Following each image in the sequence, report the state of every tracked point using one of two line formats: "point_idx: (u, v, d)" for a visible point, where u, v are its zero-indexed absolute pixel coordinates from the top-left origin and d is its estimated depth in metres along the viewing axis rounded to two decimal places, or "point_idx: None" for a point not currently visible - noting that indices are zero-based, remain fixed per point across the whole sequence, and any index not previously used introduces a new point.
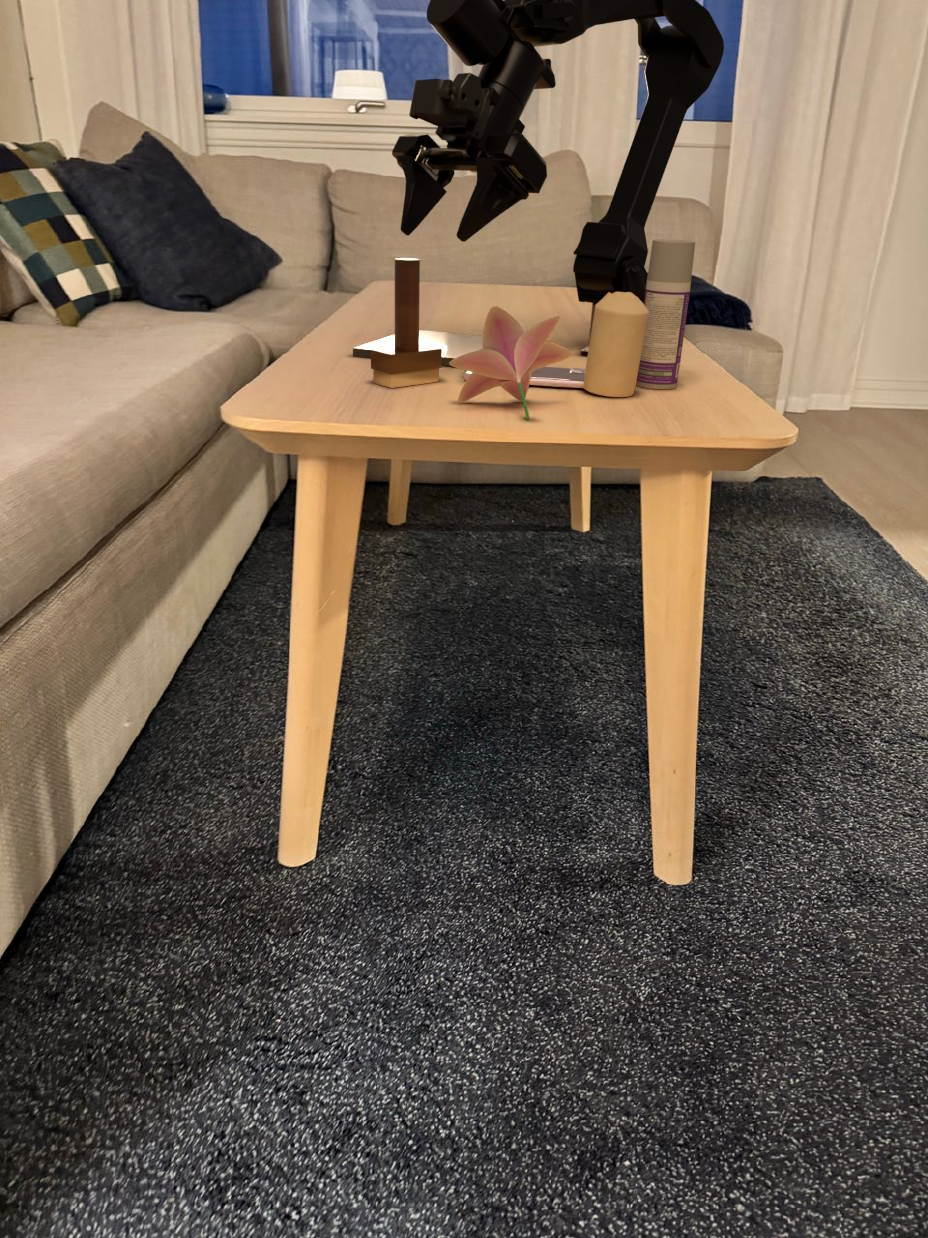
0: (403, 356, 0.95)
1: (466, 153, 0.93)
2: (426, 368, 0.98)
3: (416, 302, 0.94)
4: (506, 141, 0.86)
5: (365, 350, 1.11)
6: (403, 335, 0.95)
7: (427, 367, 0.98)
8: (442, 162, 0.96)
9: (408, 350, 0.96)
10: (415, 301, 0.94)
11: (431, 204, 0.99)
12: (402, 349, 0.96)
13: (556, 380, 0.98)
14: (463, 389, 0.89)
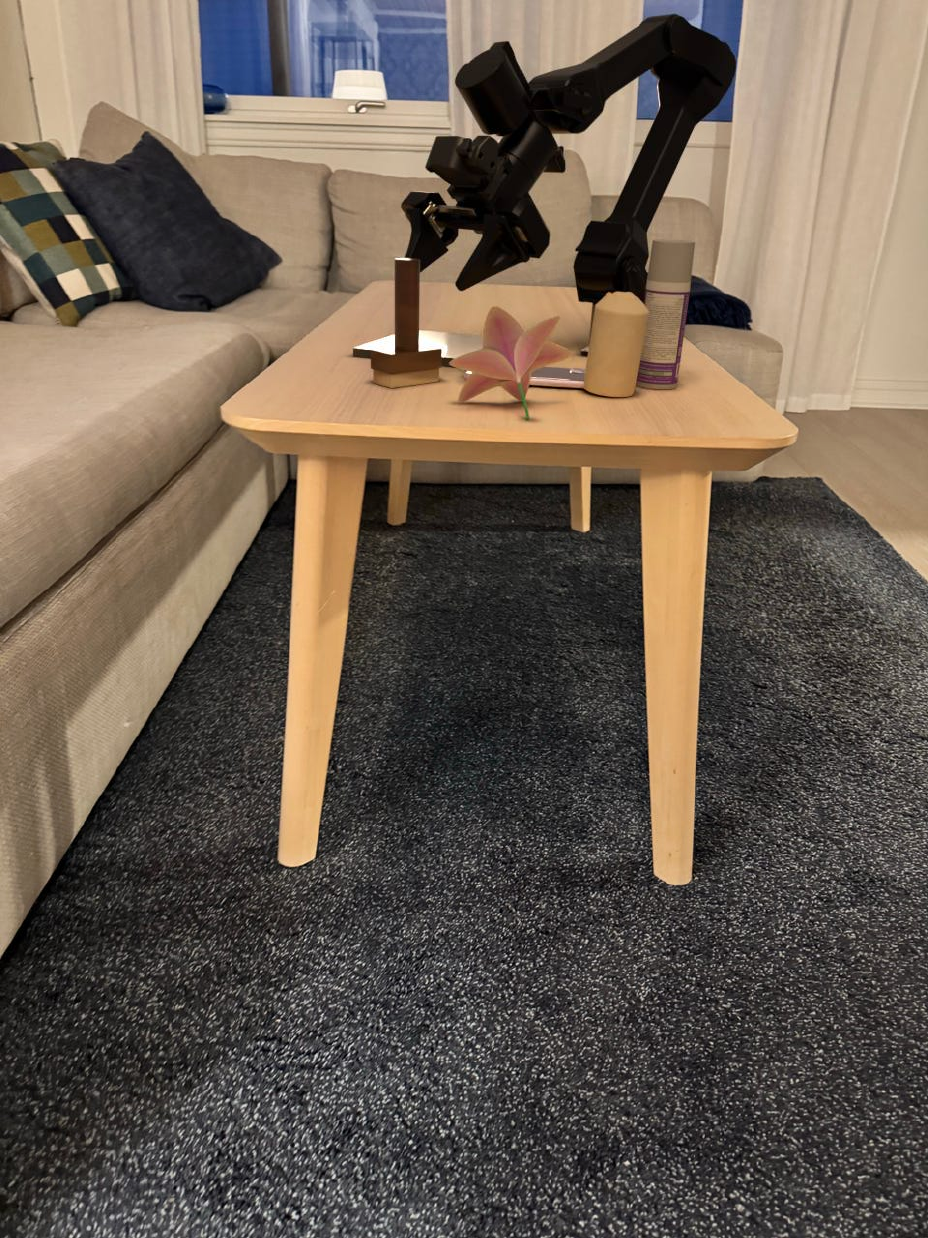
0: (403, 356, 0.95)
1: (473, 213, 0.96)
2: (426, 368, 0.98)
3: (416, 302, 0.94)
4: (516, 202, 0.89)
5: (365, 350, 1.11)
6: (403, 335, 0.95)
7: (427, 367, 0.98)
8: (449, 220, 0.99)
9: (408, 350, 0.96)
10: (415, 301, 0.94)
11: (432, 258, 1.01)
12: (402, 349, 0.96)
13: (556, 380, 0.98)
14: (463, 389, 0.89)
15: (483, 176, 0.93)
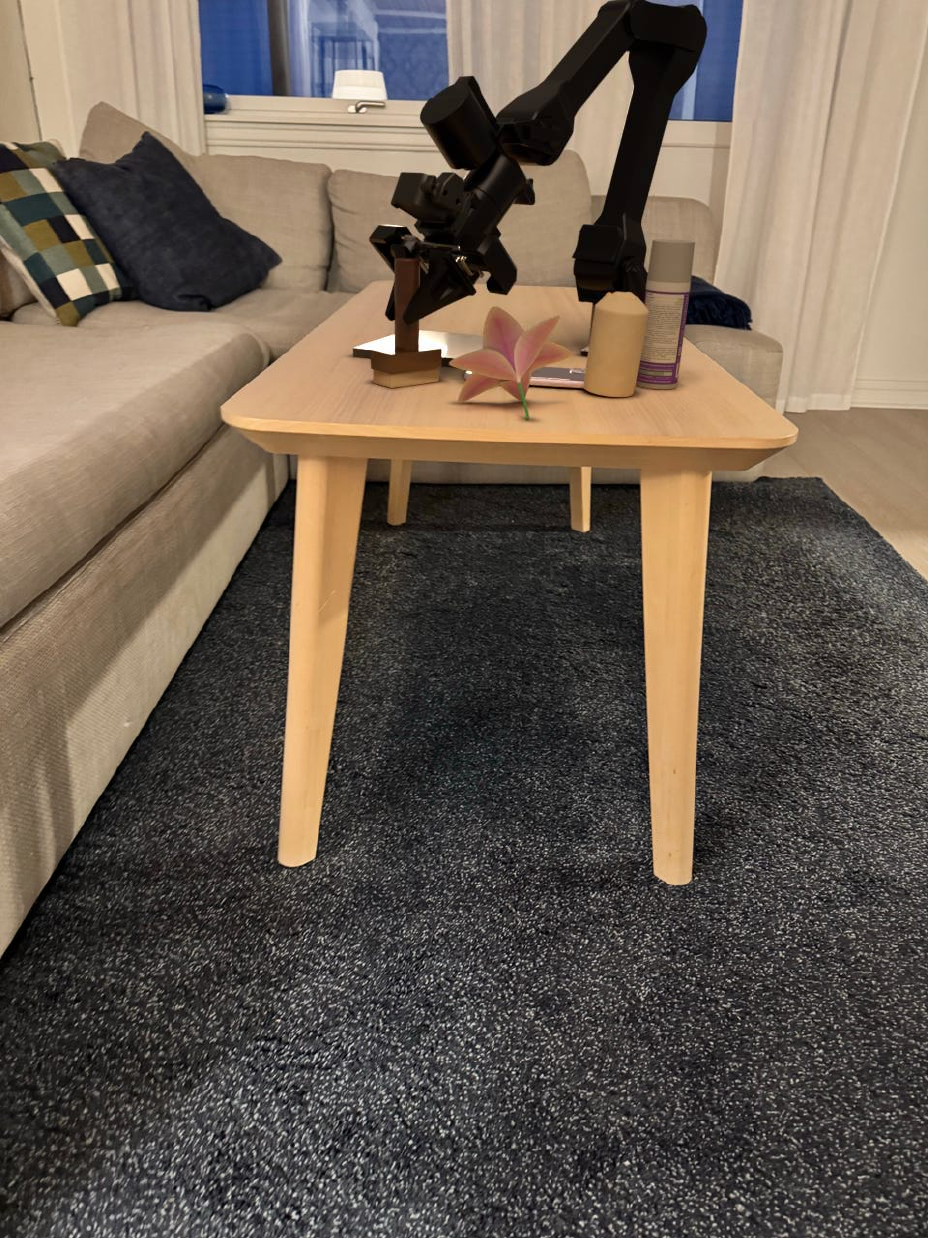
0: (403, 356, 0.95)
1: (461, 251, 0.92)
2: (426, 368, 0.98)
3: None
4: (481, 240, 0.88)
5: (365, 350, 1.11)
6: (403, 335, 0.95)
7: (427, 367, 0.98)
8: None
9: (408, 350, 0.96)
10: None
11: None
12: (402, 349, 0.96)
13: (556, 380, 0.98)
14: (463, 389, 0.89)
15: (449, 212, 0.91)
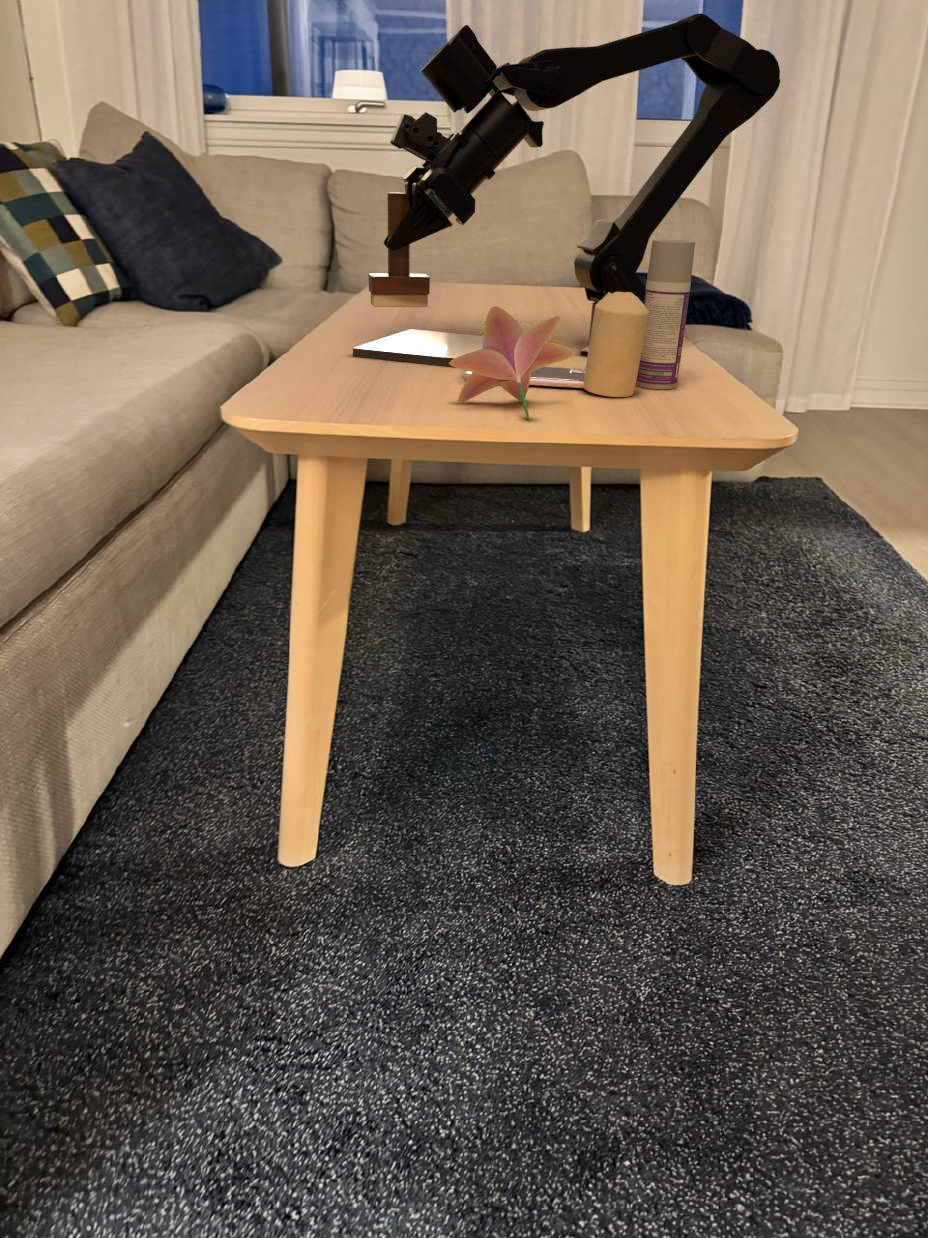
0: (385, 279, 1.08)
1: None
2: (412, 293, 1.09)
3: None
4: (432, 171, 0.98)
5: (365, 350, 1.11)
6: (391, 261, 1.08)
7: (413, 292, 1.09)
8: None
9: (394, 275, 1.08)
10: None
11: None
12: (390, 274, 1.09)
13: (556, 380, 0.98)
14: (463, 389, 0.89)
15: (430, 150, 1.02)
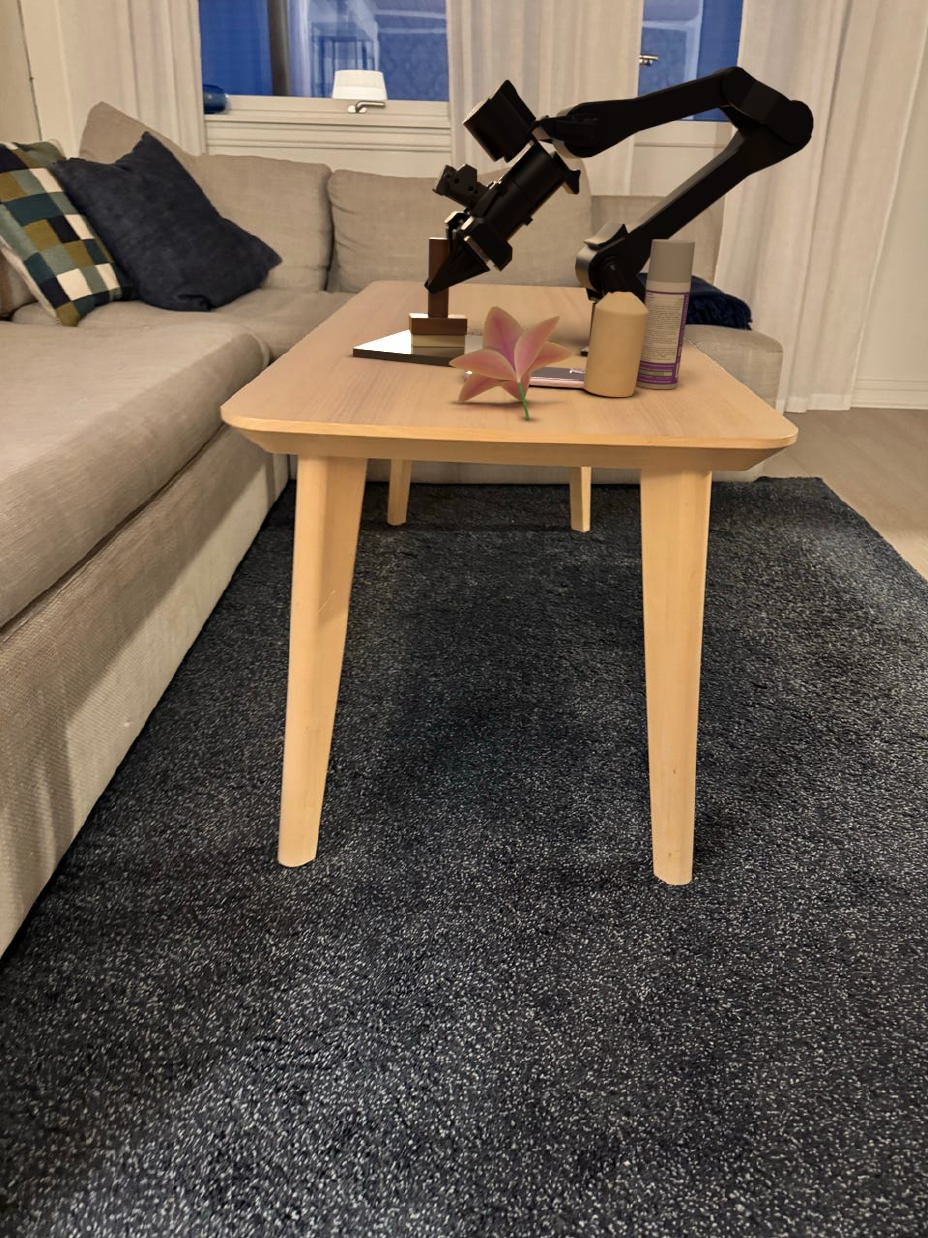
0: (425, 320, 1.12)
1: None
2: (450, 333, 1.13)
3: None
4: (471, 221, 1.02)
5: (365, 350, 1.11)
6: (430, 303, 1.12)
7: (451, 333, 1.13)
8: None
9: (433, 316, 1.12)
10: None
11: None
12: (429, 315, 1.13)
13: (556, 380, 0.98)
14: (463, 389, 0.89)
15: (470, 198, 1.06)
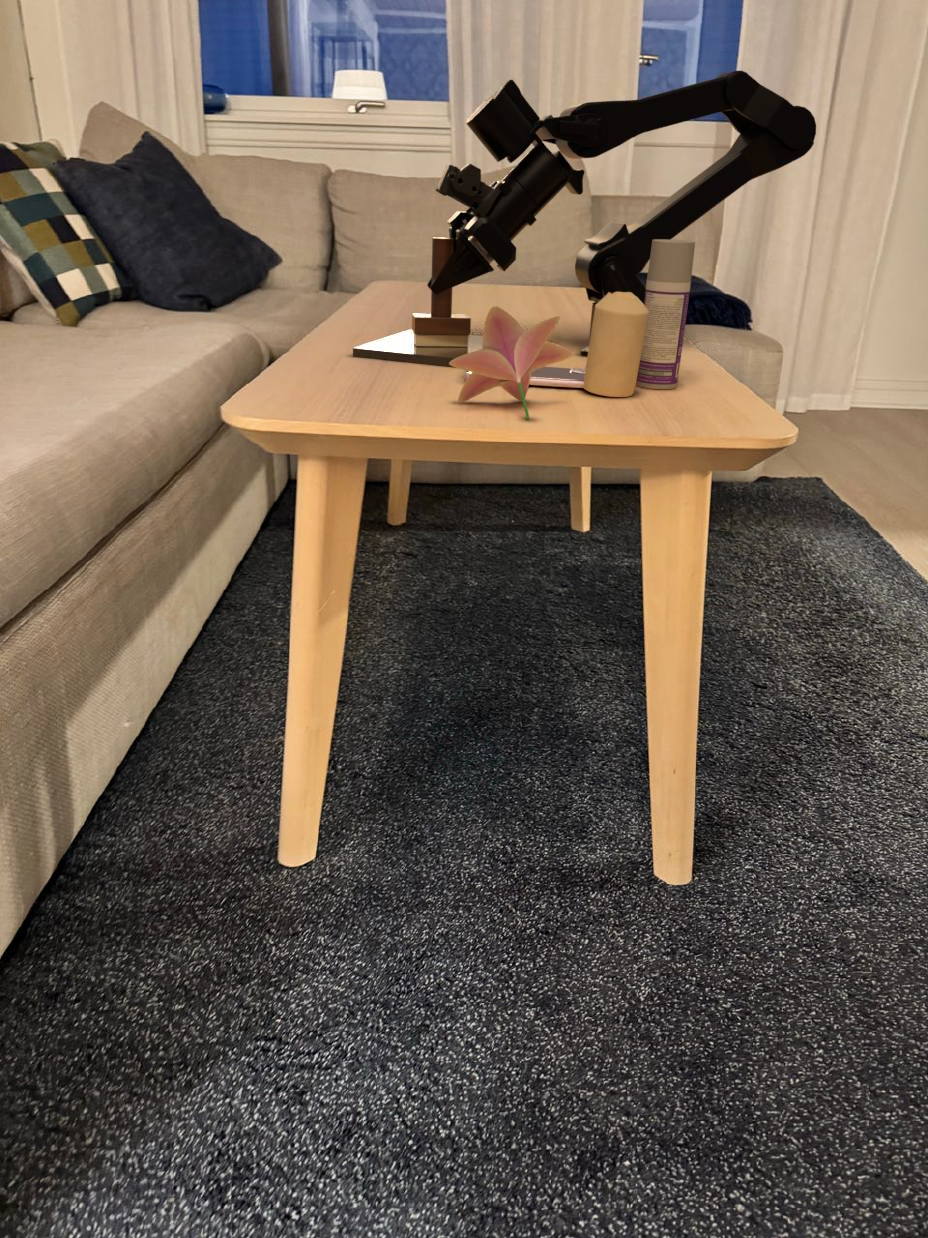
0: (428, 320, 1.12)
1: None
2: (453, 333, 1.13)
3: None
4: (474, 221, 1.02)
5: (365, 350, 1.11)
6: (434, 302, 1.12)
7: (454, 332, 1.13)
8: None
9: (437, 316, 1.13)
10: None
11: None
12: (433, 315, 1.13)
13: (556, 380, 0.98)
14: (463, 389, 0.89)
15: (474, 198, 1.06)
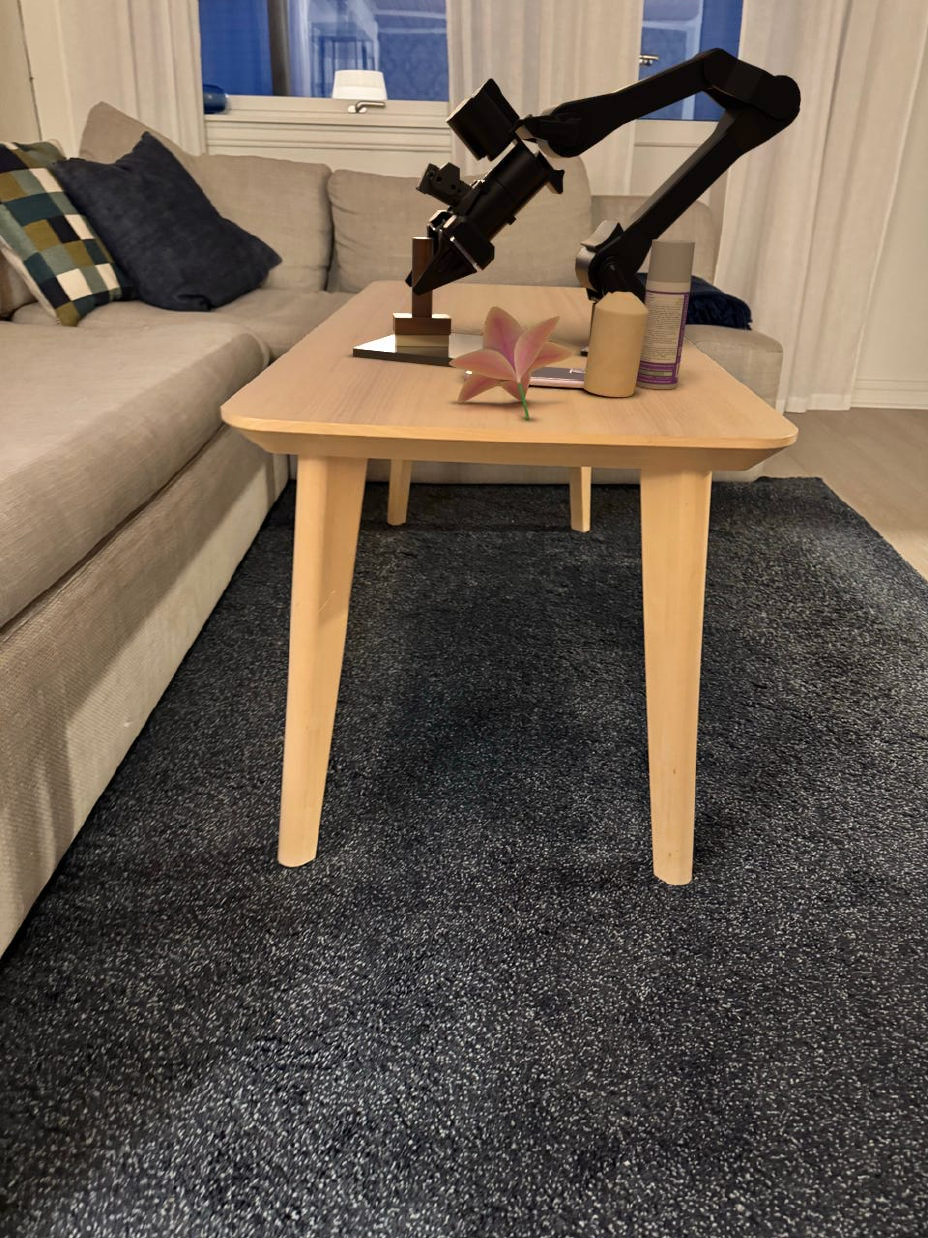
0: (409, 320, 1.12)
1: None
2: (434, 333, 1.13)
3: None
4: (453, 220, 1.01)
5: (365, 350, 1.11)
6: (414, 303, 1.12)
7: (435, 332, 1.13)
8: (451, 235, 1.13)
9: (417, 316, 1.12)
10: None
11: None
12: (413, 315, 1.13)
13: (556, 380, 0.98)
14: (463, 389, 0.89)
15: (453, 197, 1.06)
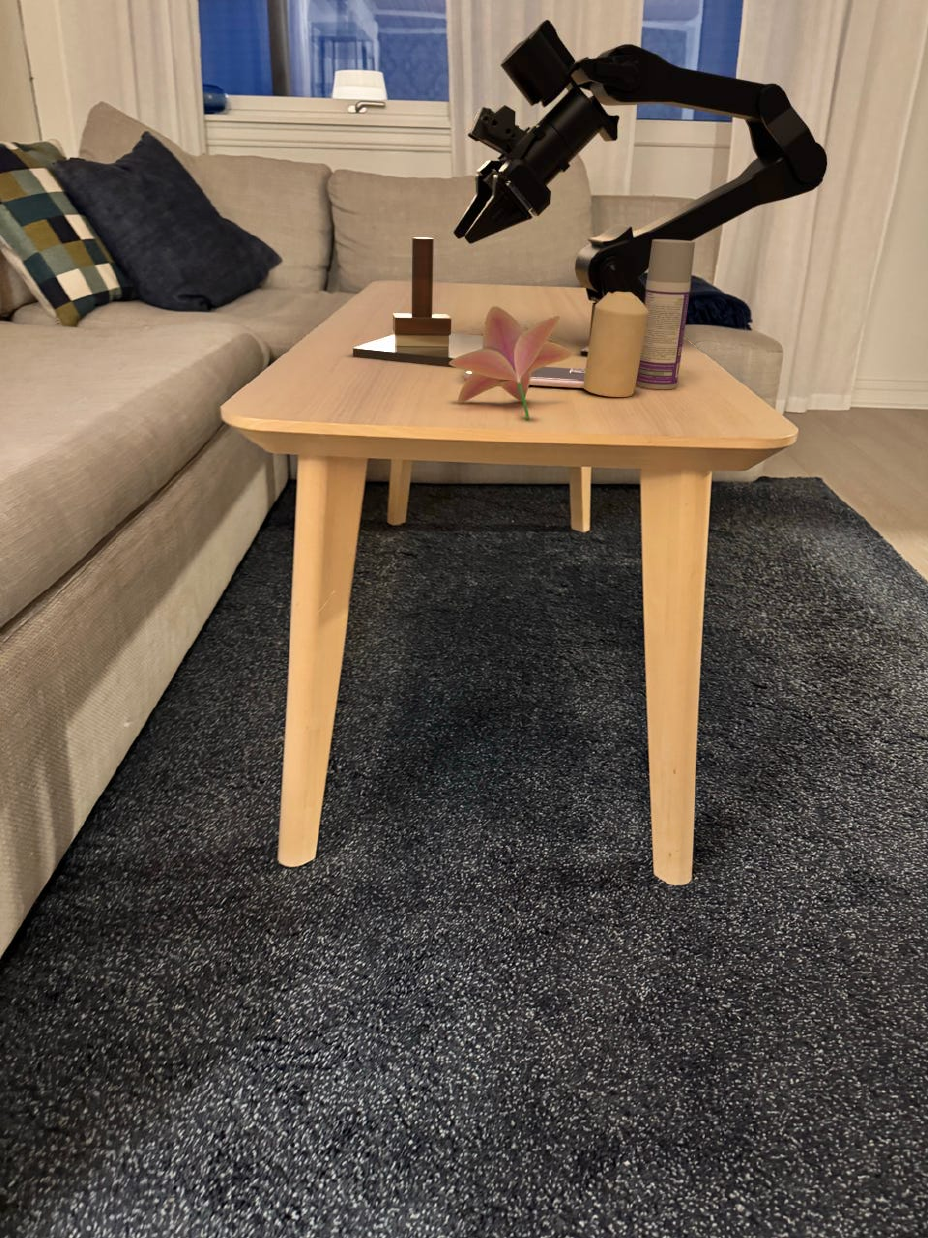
0: (409, 320, 1.12)
1: None
2: (434, 333, 1.13)
3: (425, 275, 1.10)
4: (509, 163, 1.00)
5: (365, 350, 1.11)
6: (414, 303, 1.12)
7: (435, 332, 1.13)
8: None
9: (417, 316, 1.12)
10: (424, 274, 1.10)
11: None
12: (413, 315, 1.13)
13: (556, 380, 0.98)
14: (463, 389, 0.89)
15: (507, 142, 1.04)
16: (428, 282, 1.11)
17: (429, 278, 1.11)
